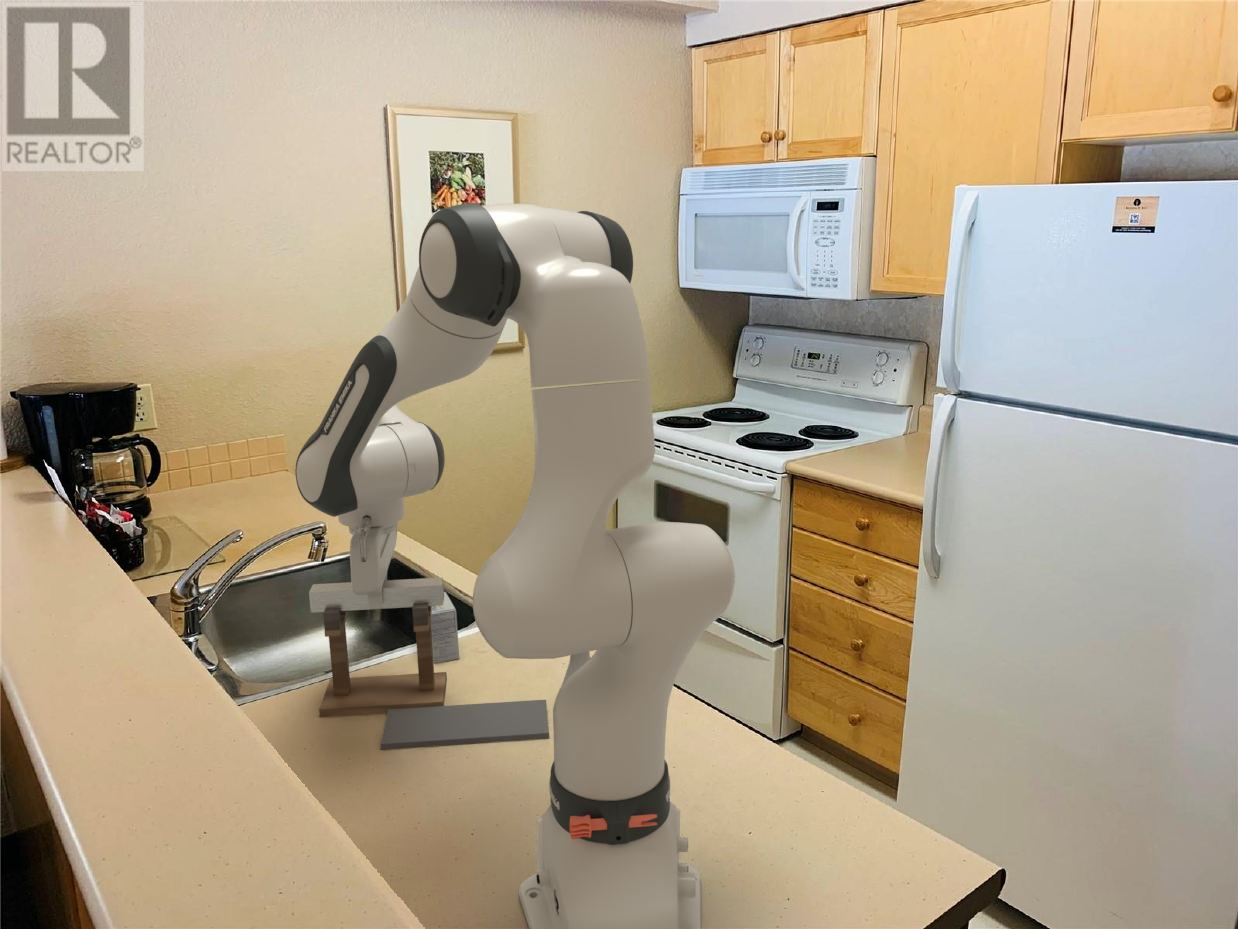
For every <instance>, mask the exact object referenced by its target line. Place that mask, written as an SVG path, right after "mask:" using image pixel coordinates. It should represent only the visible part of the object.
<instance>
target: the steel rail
mask: <svg viewBox="0 0 1238 929" xmlns="http://www.w3.org/2000/svg"><path fill="white" fill-rule="evenodd" d="M444 585H445V584H444V577H429V578H428V577H426V578H425V577H424V578H409V579H406V578H405V579H392V580H391V579H387V580H386V581H384V582H383V586H382V593H383V605H382V607H381V608H380V609H381V610H382V609H399V608H400V609H402V608H413V605H415V604H428V606H440V605H443V602H444V592H445V590H444ZM308 596H309V608H310V613H311V614H313V613H323V612H324V610H325V609H337V608H340V611H347V612H348V611H349V612H350V611H361V610H362V611H364V610H365V611H366V610H368V611H369V610H372V609H371V608H370V607H369V601H368V596H367V595H355V594H354V593H353V590H352V584H351V581H350V582H348V581H347V582H334V583H329V582H328V583H314V584H312V585H311V588H310V590H309V591H308ZM380 609H379V610H380Z"/></svg>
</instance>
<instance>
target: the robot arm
mask: <svg viewBox="0 0 1238 929" xmlns="http://www.w3.org/2000/svg"><path fill="white" fill-rule="evenodd" d="M418 249H419V250H418V268H417V270H416V272H415V275H414V278H413V280H412V282H411V286H410V289H409V290H408V294H407V295H406V297H405V299H404V301H403V303H402V304H401V305H400V307H399V309H398V311H396V313H395V314H394V316H393V317H392V318H391V319H390V321H389V322H388V323H387V324H386V325H385V327H383V328H382V329H381V331H380V332H378V333H377V334H376V336H373V338H371V339H370V340H369V341H368V342H367V343H366V344H364V346H362V347H361V348H360V350H359V352H358V353H357V354H356V356H355V358H354V360H353V361H352V363H351V365H350V367H349V368H348V370H347V372H346V374H345V377H344V378H343V380H342V382H341V384H340V385H339V387H338V390H337V392H336V393H335V395H334V397H333V399H332V400H331V403H330V405H329V407H328V409H327V411H326V413H325V415H324V417H323V419H322V421H321V422H320V424H319V426H318V427H317V429H316V430H315V432H313V434H311V436H310V437H308V439H307V440H306V442H305V443H304V444H303V446H302V448H301V450H300V451H299V454H298V456H297V459H296V462H295V479H296V485H297V489H298V491H299V494H300V495H301V497H302V499H303V500H304V501H305V503H308V505H310V506H312V508H315V510H318V511H320V512H321V513H323V514H325V515H328V516H330V517H332V518H335V517H338V519H337V520H338V523H339V524H341V525H343V526H344V527H345V526H346V527H348V533H349V534H350V535H352V536H351V539H350V545H349V562H350V564H349V566H350V582H351V584H352V590H353V593H354V594H355V595H367V596H368V601H369V607H370V608H371V609H370V610H380V608H381V607H382V605H383V593H382V586H383V582H384V581H386V580H388V570H389V566H390V563H391V561H392V558H393V555H394V552H395V549H396V545H397V540H398V522H399V521H401V520H402V519H404V517H405V501H404V498H408V497H412V496H416V495H421V494H424V493H426V492H428V491H431V490H433V489H434V488H435V487H436V486H437V485H438V484H439V482H440V480H441V478H442V475H443V472H444V468H445V463H446V462H445V461H446V460H445V450H444V445H443V442H442V440H441V437H440V436H439V435H438V433H436V432H435V430H433V429H432V428H431V427H430V426H429V425H427V424H425V423H424V422H420V421H416V420H414V419H413V418H411V417H409V415H407V414H406V413H404V412H403V411H402V410H401V409H400V407H398V404H399V403H401V402H403V401H405V400H407V399H408V398H410V397H412V396H415V395H418V394H420V393H423V392H425V391H429V390H431V389H433V388H437V387H439V386H443V385H445V384H449V383H452V382H455V381H458V380H460V379H463V378H466V377H467V376H470V375H471V374H473V373H475V372H476V371H477V370H478V369H479V368H480V367H482V365H483V364H484V363H485V362H486V361H487V360H488V359H489V357H490V356H491V354H492V353H493V352H494V350H495V349H496V347H497V344H498V342H499V340H500V339H501V336H502V334H503V331H504V328H505V326H506V324H507V323H508V322H507V321H508V319H509V320H511V321H513V322H515V323H517V324H518V325H519V326H520V328H521V329H522V330H523V332H524V334H525V336H526V338H527V344H528V350H529V352H528V353H529V372H530V373H529V374H530V384H531V386H530V387H531V388H532V389H531V397H532V411H533V423H534V424H533V426H534V427H533V428H534V470H533V479H532V484H531V488H530V492H529V494H528V495H529V496H528V499H527V502H526V504H525V507H524V509H523V511H522V514H521V515H520V517H519V519H518V521H517V523H516V525H515V526H514V528H513V530H512V531H511V533H510V534H509V535H508V536H507V538H506V539H505V541H504V542H503V543H502V544H501V545H500V546H499V547H498V548H497V549H496V550H495V551H494V552H493V553H492V554H491V555H490V556H489V557H488V558H487V559H486V560H485V562H484V563H483V565H482V567H481V568H480V570H479V572H478V574H477V577H476V579H475V582H474V586H473V590H472V591H473V592H472V610H473V612H472V613H473V617H474V620H475V624H476V625H477V628H478V630H479V632H480V634H481V636H482V637H483V639H484V640H485V642H486V643H487V644H488V646H490V647H491V648H492V649H493V650H494V651H495V652H496V653H497V654H498V655H500V656H502V657H503V658H505V659H517V660H518V659H519V660H520V659H521V660H522V659H524V660H526V659H527V660H535V659H536V660H538V659H539V660H550V659H551V660H552V659H559V658H565V657H568V656H569V657H570V656H571V655H574V654H579V653H584V652H589V653H590V652H593V651H595V652H594V653H593V654H592V656H590V659H589V660H588V661H587V662H586V663H585V664H584V665H583V666H582V667H580V668H579V669H578V670H577V671H576V672H574V673H573V674H572V675H571V676H570V677H569V678H568V679H567V680H566V681H565V682H564V684H563V685H562V684H561V686H560V688H559V690H558V692H557V695H556V697H555V699H554V703H553V708H552V720H553V721H552V724H553V726H552V727H553V757H554V759H553V760H554V761H553V762H552V764H551V766H550V773H549V774H550V776H549V781H548V783H549V784H548V788H549V796H550V805H549V807H548V808H547V809H546V811H545V812H543V814H542V815H540V817H539V818H538V819H537V820H536V873H534V874H532V875H530V876H529V877H527V878H525V879H524V880H523V881H522V882H521V883H520V885H519V893H518V894H519V896H518V897H519V900H520V903H521V907H522V909H523V912H524V916H525V919H526V922H527V924H528V928H529V929H702V906H701V905H702V902H701V901H702V900H701V899H702V895H701V894H702V893H701V892H702V891H701V887H702V886H701V885H702V884H701V883H702V882H701V875H700V871H699V869H698V868H697V867H695V866H694V865H692V864H689V863H687V862H684V861H681V860H680V853H687V852H688V851H689V840H688V837H686V836H681V809H680V808H679V807H678V806H677V805H675V804H674V803H673V802H671V799H670V798H671V779H670V778H671V777H670V775H669V773H670V772H669V765H668V763H667V761H666V760H665V759H666V758H665V755H666V732H667V720H668V719H667V718H668V707H669V702H670V697H671V694H672V690H673V688H674V684H675V682H676V680H677V677H678V676H679V675H678V674H679V673H680V670H681V668H682V666H683V664H684V662H685V660H686V658H687V657H688V655H689V653H690V652H691V650H692V649H693V647H694V645H695V644H696V642H697V641H698V640H699V639H700V637H701V636H702V634H704V632H705V631H706V630H707V629H708V628H709V627H710V626H711V625H712V624H713V623H715V621H717V620H718V619H719V618H720V617H721V616H723V614H724V613H725V612H726V610H727V609H728V606H729V605H730V602H731V600H732V597H733V595H734V594H733V593H734V588H735V581H736V580H735V578H736V573H735V565H734V562H733V558H732V555H731V553H730V551H729V549H728V547H727V545H726V544H725V542H724V541H723V539H722V538H721V536H720V535H718V533H716V531H714V529H712V528H711V527H709V526H708V525H706V524H702V523H691V522H690V523H689V522H678V521H676V522H675V521H674V522H673V521H672V522H671V521H658V522H652V523H651V522H650V523H644V524H637V525H631V526H624V527H619V528H618V527H617V528H612V529H606V526H607V521H608V518H609V515H610V512H611V509H612V507H613V505H614V504H615V502H616V501H617V500H618V498H619V497H620V496H621V494H623V493H624V492H625V491H627V490H628V489H630V488H631V487H633V486H634V485H635V484H637V483H638V482H639V481H640V480H642V478H644V477H645V475H646V474H647V472H648V471H649V469H650V468H651V466H652V464H653V461H654V458H655V454H656V444H655V433H654V432H655V431H654V420H653V419H654V418H653V405H652V392H651V380H650V369H649V362H648V361H649V360H648V353H647V346H646V341H645V336H644V335H645V334H644V331H643V330H644V329H643V325H642V322H641V316H640V313H639V308H638V304H637V301H636V296H635V294H634V291H633V288H632V285H631V282H632V279H633V272H634V256H633V249H632V246H631V242H630V240H629V237H628V235H627V233H626V231H625V230H624V228H623V227H622V226H621V225H620V224H619V223H618V222H616V220H613V219H611V218H609V217H608V216H605V215H602V214H599V213H595V212H593V211H592V212H591V211H588V210H580V211H572V210H566V209H562V208H554V207H549V206H548V207H547V206H540V205H537V204H533V203H498V204H497V203H495V204H486V205H485V204H483V205H481V204H479V203H476V202H470V203H469V202H467V203H461V204H456V205H451V206H447V207H444V208H441V209H440V210H438V211H435V213H434V214H433V215H432V217H430V218H429V221H428V222H427V225H426V226H425V228H424V230H423V232H422V234H421V238H420V242H419V248H418ZM641 379H643V380H641ZM629 380H632V381H629ZM569 385H570V386H569ZM544 387H545V388H544ZM533 388H535V389H533Z"/></svg>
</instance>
